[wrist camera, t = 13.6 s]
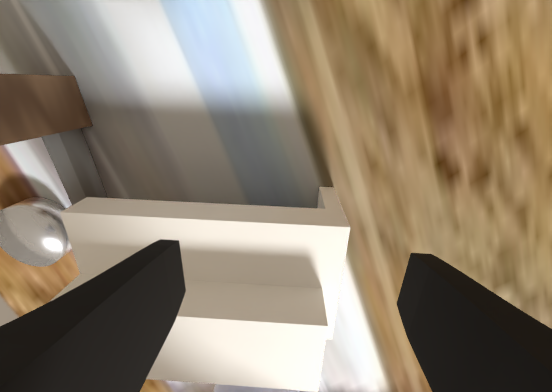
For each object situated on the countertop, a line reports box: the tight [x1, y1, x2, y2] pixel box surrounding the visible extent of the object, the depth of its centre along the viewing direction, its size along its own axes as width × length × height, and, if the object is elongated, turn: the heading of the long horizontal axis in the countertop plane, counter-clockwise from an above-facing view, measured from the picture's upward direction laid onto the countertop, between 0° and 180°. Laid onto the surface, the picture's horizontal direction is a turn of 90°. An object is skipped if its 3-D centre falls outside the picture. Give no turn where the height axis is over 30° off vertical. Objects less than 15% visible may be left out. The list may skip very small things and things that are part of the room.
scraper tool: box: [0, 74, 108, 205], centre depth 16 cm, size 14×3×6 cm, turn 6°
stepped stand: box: [51, 187, 350, 392], centre depth 17 cm, size 9×15×8 cm, turn 88°
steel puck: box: [0, 197, 72, 266], centre depth 20 cm, size 5×5×2 cm
